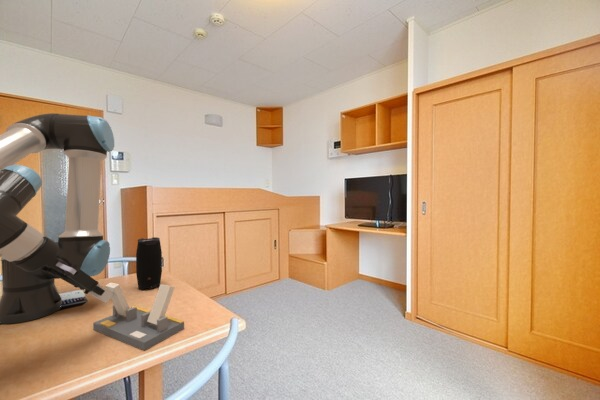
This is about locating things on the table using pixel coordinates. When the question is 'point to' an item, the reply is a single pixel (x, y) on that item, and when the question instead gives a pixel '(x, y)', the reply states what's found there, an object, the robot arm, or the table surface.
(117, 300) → the paddle
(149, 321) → the paddle
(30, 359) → the table surface
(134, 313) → the switch unit
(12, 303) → the robot arm
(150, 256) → the portable speaker
